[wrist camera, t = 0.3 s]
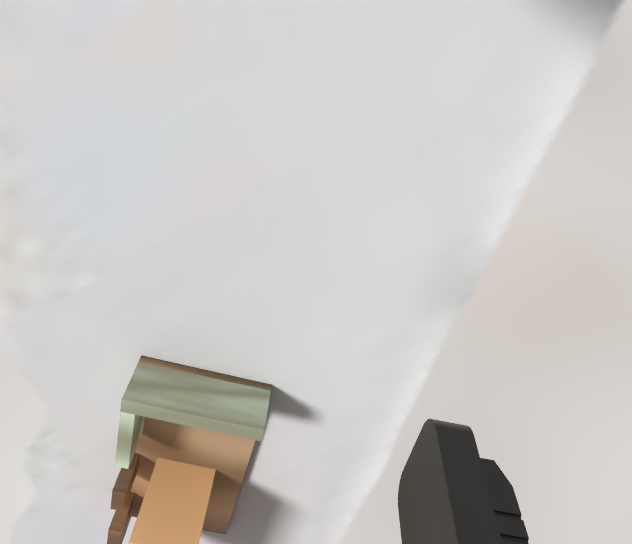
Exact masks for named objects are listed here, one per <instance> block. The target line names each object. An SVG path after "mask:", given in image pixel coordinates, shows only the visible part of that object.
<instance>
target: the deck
mask: <svg viewBox="0 0 632 544" xmlns="http://www.w3.org/2000/svg"><path fill="white" fill-rule="evenodd" d="M271 387H272V385H269V384H264V383H260V382H255V381H251V380H247V379H242V378H238V377H233V376H229V375H224V374H220V373H215V372H211V371H206V370H202V369H197V368H193V367H189V366H184V365H180V364H175V363H171V362H166V361H162V360H157V359H153V358H148V357H144V356H141V358H140V360H139V362H138V365H137V367H136V369H135V371H134V373H133V376H132V378H131V380H130V382H129V385H128V387H127V389H126V391H125V393H124V396H123V398H122V402H121V412H120V422H119V432H118V442H117V452H116V462H115V466H116V467H121V471H120V473H119V476H118V478H117V481H116V483H115V486H114V488H113V491H112V501H111V509H115V510H116V512H115V514H114V517H113V519H112V522H111V525H110V527H109V531H108V541H107V544H122V541H123V539H124V536H125V533H126V530H127V527H128V524H129V521H130V519H131V516H133V517H138V514H139V511H140V508H141V505H142V502H143V499H144V496H145V493H146V490H147V488H148V485H149V482H150V479H151V476H152V473H153V470H154V467H155V464H156V461H157V458H163V459H167V460H172V461H177V462H182V463H187V464H192V465H197V466H201V467H206V468H211V469H216V471H215V475H214V480H213V484H212V488H211V493H210V497H209V501H208V506H207V510H206V514H205V519H204V523H203V528H202V530H206V531H211V532H216V533H221V534H226V533H227V530H228V527H229V523H230V520H231V517H232V514H233V511H234V507H235V504H236V501H237V498H238V495H239V491H240V488H241V485H242V482H243V479H244V475H245V472H246V469H247V466H248V463H249V459H250V456H251V453H252V450H253V447H254V443H255V440H256V441H261V440H262V437H263V434H264V431H265V426H266V419H267V413H268V406H269V400H270V394H271Z"/></svg>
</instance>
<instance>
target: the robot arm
mask: <svg viewBox="0 0 632 544" xmlns="http://www.w3.org/2000/svg"><path fill="white" fill-rule="evenodd" d="M398 509H399V519H400V528H401V538H402V544H528V539H529V538H528V534H527V531H526V528H525V525H524V522H523V520H521V512H520V509H519V506H518V502H517V499H516V496H515V493H514V490H513V487H512V485H511V484H510V482H509V481H508V480H507V478H506V477H505V475H504V474H503V472H502V471H501V470H500V468H499V467H498V465H497V464H496V463H495V461H494V460H488V459H483V458H480V457H479V453H478V450H477V445H476V442H475V438H474V435H473V432H472V430H471V428H470V427H469V426H465V425H460V424H455V423H449V422H444V421H439V420H433V419H428V420H427V421H426V422H425V423H424V425H423V427H422V430H421V432H420V434H419V436H418V439H417V441H416V443H415V445H414V447H413V450H412V452H411V454H410V456H409V459H408V461H407V463H406V465H405V467H404V470H403V472H402V475H401V479H400V485H399V492H398Z"/></svg>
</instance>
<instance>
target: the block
mask: <svg viewBox="0 0 632 544" xmlns="http://www.w3.org/2000/svg"><path fill="white" fill-rule="evenodd" d="M215 471H216V469H211V468H206V467H201V466H197V465H192V464H187V463H182V462H177V461H172V460H167V459H163V458H157V461H156V464H155V467H154V470H153V473H152V476H151V479H150V482H149V485H148V488H147V490H146V493H145V496H144V499H143V502H142V505H141V508H140V511H139V514H138V517H137V520H136V523H135V526H134V529H133V532H132V535H131V538H130V540H129V544H199V541H200V536H201V532H202V528H203V523H204V519H205V514H206V510H207V506H208V501H209V497H210V493H211V488H212V484H213V480H214V475H215Z"/></svg>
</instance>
